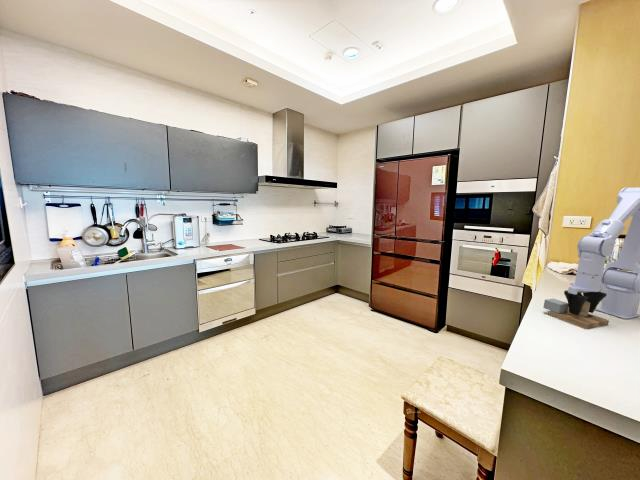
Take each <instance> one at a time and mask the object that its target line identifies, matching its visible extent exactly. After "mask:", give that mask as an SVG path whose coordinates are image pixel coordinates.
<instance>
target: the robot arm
mask: <svg viewBox="0 0 640 480" xmlns="http://www.w3.org/2000/svg"><path fill="white" fill-rule="evenodd" d="M616 199H617V200H616V202H617V206H616V207H615V208H614V210H613V211H612V213H611V214H610V216H609V217H608V218H605V219H602V220H601V221H600V222H599V223H598V224H597V225H596V226H595V228H594V229H593V230H592V231H591V232H590V233H589V234H588V235H587V236H583V237H581V238H580V239H579V241H578V243H577V245H576V247H577V248H576V249H577V257H578V259H579V260H578V265H577V269H576V275H575V280H574V282H573V281H572V282H570V283H569V285H570V286H568V287H567V288H568V289H567V290H564V291H563V292H564V293H563V294H564V296H565V298H566V301H567V303H568V306H569V307H568V308H569V312H570V313H572V314H574V315H579V313H580V311H581V309H582V306H583V304H584V303H585V301H588V302H590V308H589V314H593V313H594V312H595V311H597V312H602V313H604V314H608V315H611V316H615V317H618V318H621V319H624V320H626V319H628V320H629V319H633V318H638V317H640V314H638V310H639V309H638V308H639V305H640V186H639V187H628V186H627V187H623V188H621V190H619V192H618V193H617V198H616ZM630 217H632V218H631V220H630V223H629V227H628V228H627V231H626V235H625V238H624V241H623V244H622V247H621V249H620V253H619V255H618V258H617V260H614V261H611V262H609V263H606V259H607V257H608V256H610V255H611V254H612V253H613V251H614V247H615V245H616V240H617V239H618V238H619V236H620V235H621V234H622V233H623V231H625V229H626V226H625V222H627V221H628V220H629V219H630ZM625 270H626V271H625ZM601 282H602V284H604V285H600V284H601ZM604 286H605V287H606V288H605V292H604V293H602V292H600V291H603V288H604ZM602 299H603V301H602V302H600V301H601V300H602ZM600 303H601V305H600V307H598V305H599V304H600Z"/></svg>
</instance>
